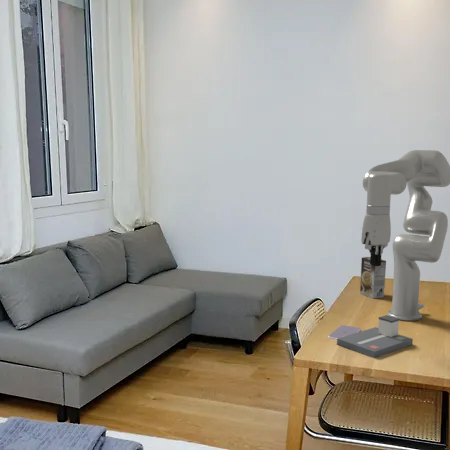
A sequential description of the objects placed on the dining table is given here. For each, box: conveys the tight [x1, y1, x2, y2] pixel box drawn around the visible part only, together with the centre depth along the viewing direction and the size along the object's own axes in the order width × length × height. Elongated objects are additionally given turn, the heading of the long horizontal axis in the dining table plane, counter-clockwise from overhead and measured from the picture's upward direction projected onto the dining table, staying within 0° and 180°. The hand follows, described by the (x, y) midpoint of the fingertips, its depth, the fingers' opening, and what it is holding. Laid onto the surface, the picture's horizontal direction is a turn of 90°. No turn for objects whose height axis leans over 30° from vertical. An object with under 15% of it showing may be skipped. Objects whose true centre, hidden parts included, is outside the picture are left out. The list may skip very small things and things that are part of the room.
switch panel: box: [336, 326, 414, 359], centre depth 195 cm, size 20×15×2 cm
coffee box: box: [359, 256, 387, 299], centre depth 256 cm, size 9×6×16 cm
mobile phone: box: [327, 324, 362, 340], centre depth 206 cm, size 8×1×15 cm
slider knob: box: [378, 314, 400, 337], centre depth 199 cm, size 4×5×6 cm
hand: (375, 265), depth 198 cm, fingers closed
